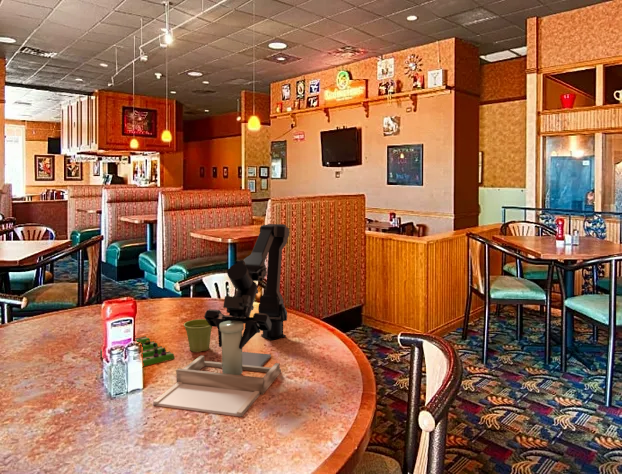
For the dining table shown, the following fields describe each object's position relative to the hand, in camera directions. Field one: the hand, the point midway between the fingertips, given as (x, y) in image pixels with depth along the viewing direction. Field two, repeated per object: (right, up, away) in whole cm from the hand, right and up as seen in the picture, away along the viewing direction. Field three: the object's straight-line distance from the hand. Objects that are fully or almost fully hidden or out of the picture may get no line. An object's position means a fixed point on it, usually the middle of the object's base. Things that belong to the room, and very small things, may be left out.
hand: (229, 347), depth 137 cm
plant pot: (-14, -6, +24) cm, 28 cm away
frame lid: (-4, -10, -13) cm, 17 cm away
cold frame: (0, -9, +1) cm, 9 cm away
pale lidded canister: (0, -8, +2) cm, 8 cm away
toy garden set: (-34, -7, +18) cm, 39 cm away
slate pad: (+3, -7, +13) cm, 16 cm away
